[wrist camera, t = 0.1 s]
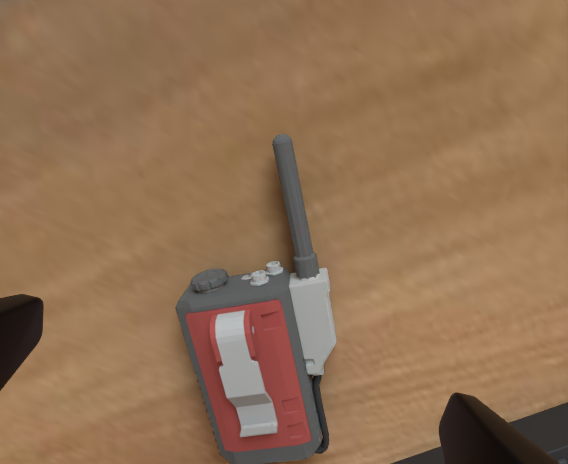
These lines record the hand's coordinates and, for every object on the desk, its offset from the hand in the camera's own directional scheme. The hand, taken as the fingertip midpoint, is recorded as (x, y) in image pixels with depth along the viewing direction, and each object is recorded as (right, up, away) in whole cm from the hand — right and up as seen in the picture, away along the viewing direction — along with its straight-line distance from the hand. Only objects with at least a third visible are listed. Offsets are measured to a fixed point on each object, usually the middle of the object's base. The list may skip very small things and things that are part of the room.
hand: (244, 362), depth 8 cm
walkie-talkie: (-1, -2, +16) cm, 16 cm away
